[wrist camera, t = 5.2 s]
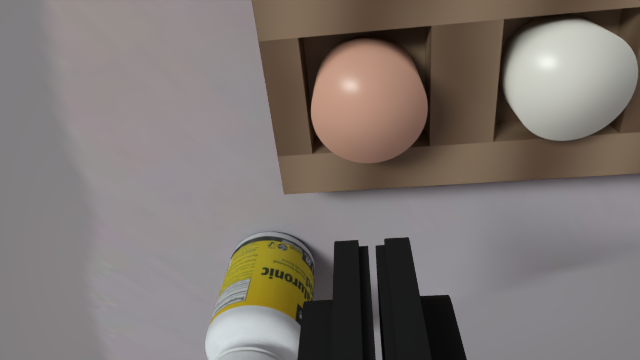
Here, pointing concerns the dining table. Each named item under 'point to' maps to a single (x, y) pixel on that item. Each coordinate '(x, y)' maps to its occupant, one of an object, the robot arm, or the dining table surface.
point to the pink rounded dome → (368, 100)
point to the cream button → (566, 76)
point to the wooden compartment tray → (435, 92)
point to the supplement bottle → (262, 300)
